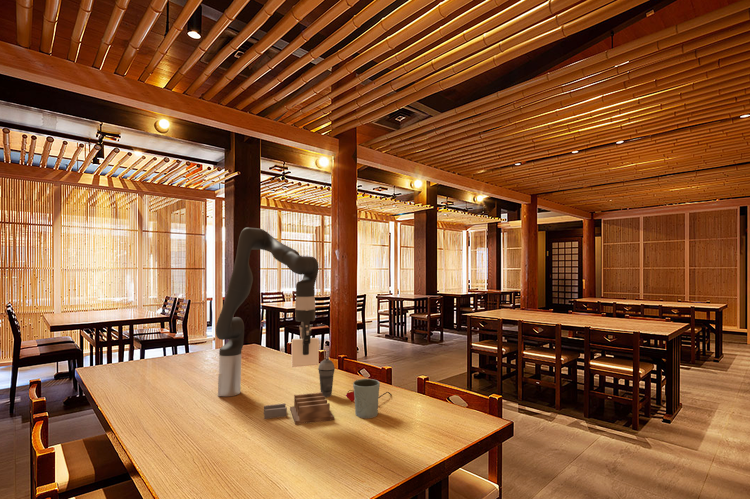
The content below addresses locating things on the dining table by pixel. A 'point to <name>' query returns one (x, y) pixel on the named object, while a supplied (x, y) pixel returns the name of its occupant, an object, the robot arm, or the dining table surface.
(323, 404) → the dish rack
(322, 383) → the beverage cup
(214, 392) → the dining table surface
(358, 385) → the grey green cup
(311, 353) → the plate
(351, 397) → the glasses
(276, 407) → the plate stand
